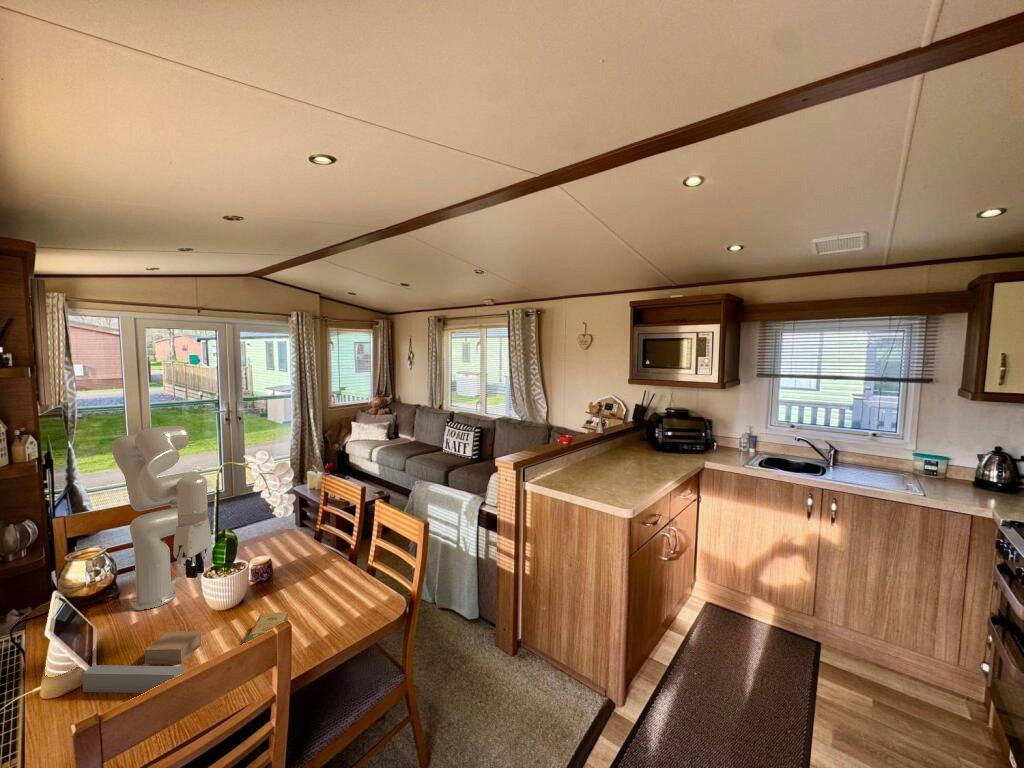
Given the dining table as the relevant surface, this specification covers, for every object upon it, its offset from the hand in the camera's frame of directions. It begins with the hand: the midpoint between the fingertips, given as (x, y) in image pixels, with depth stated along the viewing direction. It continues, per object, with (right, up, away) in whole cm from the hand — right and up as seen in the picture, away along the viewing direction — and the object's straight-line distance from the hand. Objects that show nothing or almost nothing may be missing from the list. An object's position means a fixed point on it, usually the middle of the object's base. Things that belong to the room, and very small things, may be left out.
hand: (195, 574), depth 132 cm
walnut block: (0, -20, -8) cm, 21 cm away
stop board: (0, -20, -21) cm, 29 cm away
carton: (+23, -20, -1) cm, 30 cm away
